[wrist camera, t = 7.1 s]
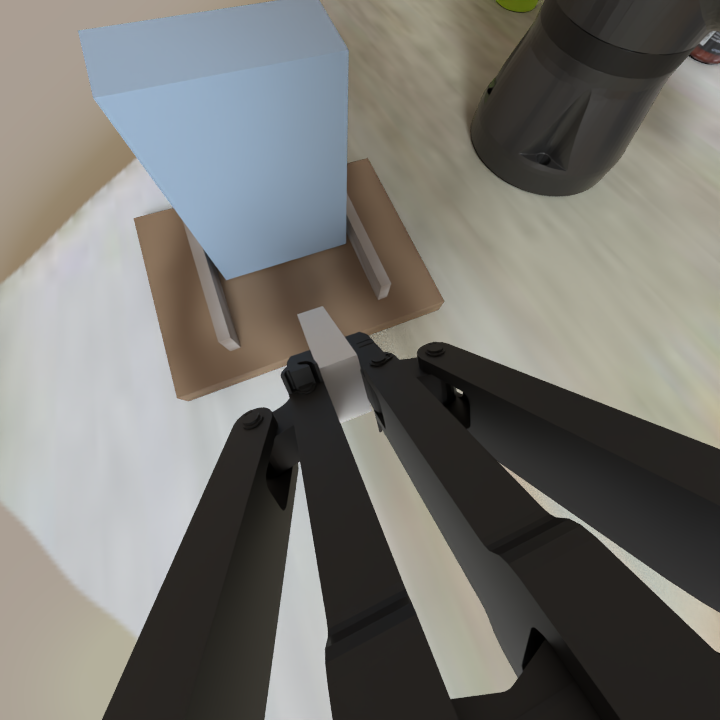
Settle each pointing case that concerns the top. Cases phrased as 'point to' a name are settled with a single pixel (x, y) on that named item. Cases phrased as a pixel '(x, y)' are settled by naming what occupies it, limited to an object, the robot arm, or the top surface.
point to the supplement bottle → (708, 49)
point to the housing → (280, 291)
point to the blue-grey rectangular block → (235, 123)
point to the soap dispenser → (518, 5)
